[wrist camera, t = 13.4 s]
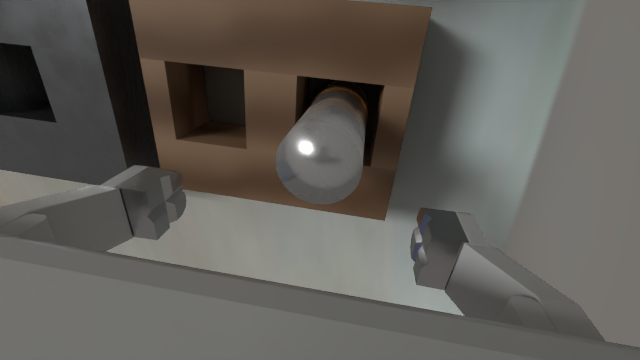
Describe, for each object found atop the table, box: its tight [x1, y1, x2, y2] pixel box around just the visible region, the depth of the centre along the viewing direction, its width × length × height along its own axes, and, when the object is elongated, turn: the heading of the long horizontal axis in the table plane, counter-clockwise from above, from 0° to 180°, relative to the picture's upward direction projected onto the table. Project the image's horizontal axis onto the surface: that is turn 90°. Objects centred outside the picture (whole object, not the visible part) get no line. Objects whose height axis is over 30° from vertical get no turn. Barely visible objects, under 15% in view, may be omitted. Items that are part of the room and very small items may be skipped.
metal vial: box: [276, 81, 368, 204], centre depth 19 cm, size 4×4×12 cm
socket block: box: [0, 0, 160, 185], centre depth 24 cm, size 16×16×5 cm
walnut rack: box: [129, 0, 432, 221], centre depth 22 cm, size 14×18×5 cm
